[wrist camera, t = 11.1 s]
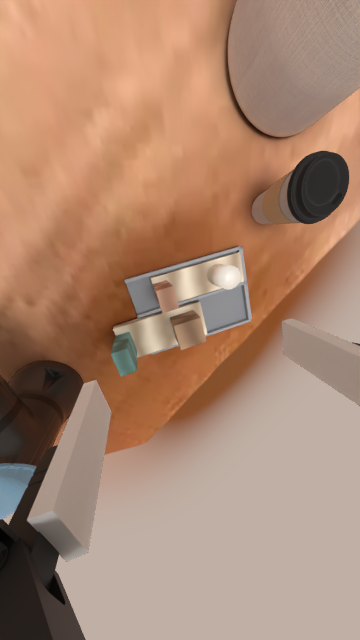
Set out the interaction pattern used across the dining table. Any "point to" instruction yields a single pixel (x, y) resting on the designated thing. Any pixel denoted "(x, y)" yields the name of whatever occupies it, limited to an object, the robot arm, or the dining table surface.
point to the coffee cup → (305, 191)
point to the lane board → (197, 297)
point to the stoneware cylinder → (224, 276)
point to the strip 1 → (189, 281)
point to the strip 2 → (147, 336)
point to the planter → (293, 60)
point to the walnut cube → (188, 329)
